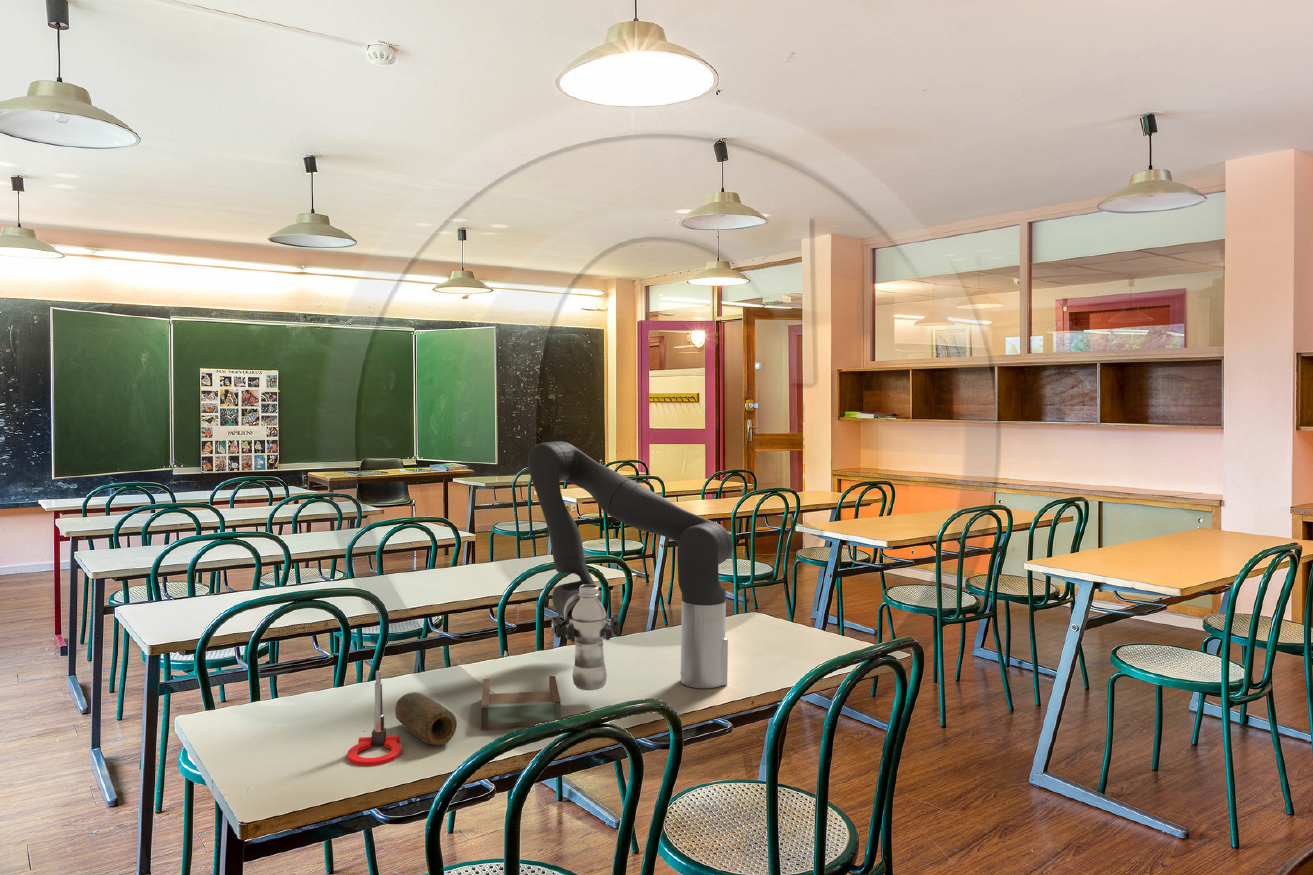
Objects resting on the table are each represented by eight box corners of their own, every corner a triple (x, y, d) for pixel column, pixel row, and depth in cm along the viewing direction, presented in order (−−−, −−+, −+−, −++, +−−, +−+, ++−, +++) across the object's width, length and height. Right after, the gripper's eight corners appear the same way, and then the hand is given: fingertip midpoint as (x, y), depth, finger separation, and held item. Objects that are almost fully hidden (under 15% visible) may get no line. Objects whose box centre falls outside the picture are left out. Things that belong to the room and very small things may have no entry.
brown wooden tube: (464, 743, 146) (464, 704, 146) (426, 754, 142) (426, 714, 141) (424, 718, 157) (424, 682, 157) (387, 727, 153) (387, 690, 153)
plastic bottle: (602, 695, 162) (601, 590, 162) (567, 693, 164) (567, 589, 163) (610, 684, 169) (610, 583, 168) (577, 682, 170) (577, 582, 169)
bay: (555, 695, 170) (555, 675, 170) (560, 725, 154) (560, 703, 154) (483, 699, 168) (483, 679, 168) (481, 729, 152) (481, 707, 152)
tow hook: (396, 767, 137) (405, 742, 146) (395, 689, 136) (404, 668, 145) (341, 770, 136) (354, 744, 145) (340, 691, 135) (353, 670, 144)
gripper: (547, 598, 178) (552, 618, 162) (616, 595, 181) (627, 614, 165) (548, 634, 179) (552, 657, 162) (616, 630, 181) (628, 653, 165)
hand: (590, 635), depth 163 cm, fingers closed on plastic bottle, 6 cm apart
